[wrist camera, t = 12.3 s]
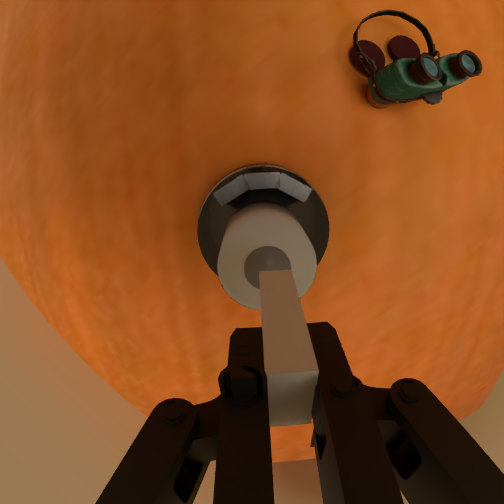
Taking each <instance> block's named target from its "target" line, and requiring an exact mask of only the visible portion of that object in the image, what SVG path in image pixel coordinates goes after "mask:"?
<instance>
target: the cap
mask: <svg viewBox="0 0 504 504" xmlns="http://www.w3.org/2000/svg"><path fill="white" fill-rule="evenodd" d="M316 268H317V259H316V254H315V251H314V248H313V246H312V244H311V242H310V240H309V238H308V237H307V235H306V233H305V232H304V230H303V228H302V226H301V225H300V223H299V221H298V220H297V218H296V217H295V215H294V214H293V213H292V212H291V211H290V210H289V209H288V208H287V207H285V206H284V205H282V204H280V203H277V202H274V201H269V200H259V201H253V202H250V203H248V204H245V205H244V206H242V207H240V208H239V209H238V210H237V211H236V212H235V213H234V214H233V215H232V216H231V218H230V219H229V221H228V223H227V226H226V230H225V233H224V237H223V241H222V245H221V249H220V252H219V256H218V263H217V270H218V276H219V279H220V282H221V284H222V286H223V288H224V289H225V291H226V292H227V293H228V295H229V296H230V297H231V298H232V299H234V300H235V301H236V302H238V303H239V304H241V305H243V306H245V307H248V308H251V309H255V310H261V302H260V280H259V271H274V270H292V274H293V277H294V281H295V284H296V288H297V291H298V295H299V298H301V297H302V296H303V295H304V294H305V293H306V292H307V290H308V289H309V288H310V286H311V284H312V282H313V280H314V277H315V274H316Z"/></svg>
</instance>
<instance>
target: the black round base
mask: <svg viewBox="0 0 504 504" xmlns="http://www.w3.org/2000/svg"><path fill="white" fill-rule="evenodd" d="M259 200H269V201H274V202H277V203H280V204H282V205H284V206H285V207H287V208H288V209H289V210H290V211H291V212H292V213H293V214H294V215H295V217H296V218H297V220H298V221H299V223H300V225H301V226H302V228H303V230H304V232H305V233H306V235H307V237H308V238H309V240H310V242H311V244H312V246H313V248H314V251H315V254H316V259H317V265H318V264H319V262H320V260H321V259H322V257H323V255H324V252H325V250H326V247H327V243H328V238H329V221H328V215H327V212H326V209H325V206H324V204H323V202H322V200H321V198H320V196H319V194H318V193H317V191H316V190H315V189H314V188H313V187H312V185H311V184H310V183H309V182H307V181H306V180H305V179H304V178H303V177H301V176H299V175H298V174H296V173H295V172H293V171H290V170H288V169H286V168H283V167H280V166H277V165H272V164H251V165H247V166H244V167H241V168H239V169H236V170H234V171H233V172H231V173H229V174H228V175H227V176H225V177H224V178H223V179H222V180H220V181H219V182H218V183H217V184H216V185H215V186H214V187H213V189H212V190H211V191H210V193H209V194H208V195H207V197H206V199H205V201H204V203H203V205H202V208H201V210H200V215H199V219H198V241H199V246H200V249H201V252H202V255H203V257H204V259H205V261H206V262H207V264H208V265H209V267H210V268H211V269H212V270H213V272H214V273H215V274H216V275H217V276H218V270H217V263H218V256H219V252H220V249H221V245H222V241H223V237H224V233H225V230H226V226H227V223H228V221H229V219H230V218H231V216H232V215H233V214H234V213H235V212H236V211H237V210H238V209H239V208H240V207H242V206H244V205H245V204H248V203H250V202H253V201H259ZM222 287H223V286H222Z"/></svg>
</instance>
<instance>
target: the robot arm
mask: <svg viewBox="0 0 504 504" xmlns="http://www.w3.org/2000/svg"><path fill="white" fill-rule="evenodd" d="M259 280H260V302H261V323H262V327H255V328H236V329H235V331H234V332H233V334H232V335H231V336H230V344H229V356H228V366H227V367H226V368H225V369H224V370H223V371H221V372H220V375H219V377H218V382H219V387H220V392H221V394H220V395H219V396H218V397H217V398H215V399H213V400H211V401H209V402H205V403H201V404H197V405H192V404H191V403H190V402H189V401H187V400H184V399H180V398H172V399H167V400H164V401H162V402H161V403H159V404H158V405H157V406H156V407H155V408H154V409H153V411H152V412H151V414H150V416H149V417H148V419H147V420H146V422H145V424H144V425H143V427H142V429H141V430H140V432H139V433H138V435H137V437H136V438H135V440H134V442H133V443H132V445H131V446H130V448H129V450H128V452H127V453H126V455H125V456H124V458H123V460H122V461H121V463H120V464H119V466H118V468H117V469H116V471H115V472H114V474H113V476H112V478H111V479H110V481H109V482H108V484H107V485H106V487H105V489H104V490H103V492H102V494H101V495H100V497H99V498H98V500H97V502H96V504H193V501H194V499H195V497H196V495H197V491H198V490H199V487H200V485H201V483H202V480H203V477H204V475H205V473H206V471H207V468H208V466H209V463H210V461H213V460H216V471H215V485H214V498H213V504H274V492H273V491H274V490H273V474H272V456H271V439H270V427H274V426H288V425H299V424H309V423H311V420H312V418H313V424H314V430H313V435H312V440H311V447H315V453H316V459H317V465H318V471H319V477H320V484H321V491H322V498H323V504H404V503H403V499H402V496H401V492H400V490H401V491H402V493H403V495H404V496H405V498H406V499H407V501H408V502H409V504H504V474H503V473H502V472H501V470H500V469H499V468H498V467H497V466H496V465H495V463H494V462H493V461H492V460H491V459H490V457H489V456H488V455H487V454H486V453H485V452H484V450H483V449H482V448H481V447H480V446H479V445H478V443H477V442H476V441H475V440H474V439H473V438H472V437H471V435H470V434H469V433H468V432H467V431H466V430H465V429H464V427H463V426H462V425H461V424H460V423H459V422H458V421H457V419H456V418H455V417H454V416H453V415H452V414H451V413H450V412H449V411H448V409H447V408H446V407H445V406H444V405H443V404H442V403H441V402H440V401H439V400H438V398H437V397H436V396H435V395H434V394H433V393H432V392H431V391H430V390H429V389H428V388H427V386H426V385H424V384H423V383H422V382H420V381H418V380H416V379H413V378H404V379H400V380H398V381H396V382H395V383H393V385H392V386H391V388H390V389H387V388H374V387H369V386H366V385H363V384H362V382H361V381H360V379H358V378H357V377H355V376H353V374H352V372H351V369H350V366H349V364H348V361H347V358H346V356H345V353H344V351H343V348H342V347H341V343H340V340H339V338H338V335H337V332H336V330H335V328H333V327H332V326H331V325H330V324H329V323H328V322H318V323H306V320H305V316H304V313H303V309H302V306H301V302H300V298H299V295H298V291H297V288H296V284H295V281H294V277H293V274H292V270H274V271H259Z"/></svg>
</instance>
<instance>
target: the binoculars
mask: <svg viewBox="0 0 504 504" xmlns="http://www.w3.org/2000/svg"><path fill="white" fill-rule="evenodd" d="M382 15H392V16H398V17H401V18H403V19H405V20H407V21H409V22H410V23H412V24H414V25H415V26H416V27H417V28H418V29H419V30H420V31H421V32H422V34H423V35H424V37H425V39H426V42H427V46H428V53H422V54H421V55H420V50H419V47H418V46H417V44H416V43H415V42H414V41H413V40H412V39H410V38H408V37H406V36H395V37H394V38H393V39H392V40H391V42H390V43H389V45H388V52H389V54H390V56H391V58H392V59H393V60H394V62H392V63H391V64H389V65H387V66H386V67H384V66H385V57H384V54H383V52H382V50H381V49H380V48H379V47H378V46H377V45H376V44H374V43H373V42H370V41H367V40H360V41H358V29H359V28H360V26H361V24H362V23H364V22H365V21H367V20H368V19H371V18H373V17H376V16H382ZM437 54H438V59H434V57H435V56H436V55H437ZM350 57H351V59H352V61H353V63H354V64H355V65H356V66H357V67H358V68H359V69H360V70H362V71H363V72H365V73H366V74H369V75H370V76H371V77H370V78H369V80H368V83H369V86H368V89H367V98H368V100H369V102H370V103H371V105H373V106H374V107H376V108H379V109H382V108H386V107H388V106H390V105H391V104H393V103H406V102H410V101H414V100H421V99H423V100H424V101H426V102H427V103H428V104H432V105H434V104H437V103H439V102H440V100H442V92H444V91H445V90H447V89H449V88H451V87H453V86H456V85H458V84H461V83H462V82H464V81H466V80H467V79H468V78H469V77H474V76H478V75H479V74H480V73H481V71H482V64H481V61H480V59H479V58H478V57H477V56H476V55H475V54H474V53H473V52H471V51H468V50H464V51H462V52H460V53H453V54H449V55H446V56H443V57H440V53H439V51H436V49H435V44H433V41H432V37H431V35H430V33H429V32H428V30H427V28H426V27H425V26H424V25H423V24H422V23H421V22H420V21H419V20H417V19H415V18H414V17H412V16H410V15H408V14H406V13H404V12H401V11H395V10H385V11H379V12H376V13H373V14H370V15H369V16H367V17H366V18H364V19H363V20H362V21H361V22H360V24H359V26H358V27H357V29H356V31H355V33H354V34H353V47H352V49H351V51H350Z"/></svg>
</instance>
